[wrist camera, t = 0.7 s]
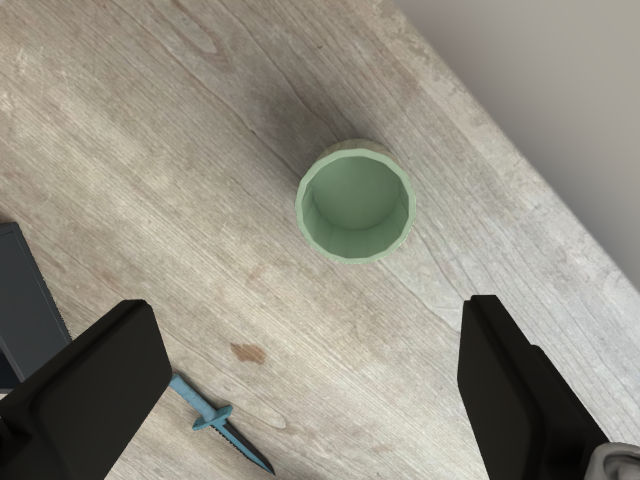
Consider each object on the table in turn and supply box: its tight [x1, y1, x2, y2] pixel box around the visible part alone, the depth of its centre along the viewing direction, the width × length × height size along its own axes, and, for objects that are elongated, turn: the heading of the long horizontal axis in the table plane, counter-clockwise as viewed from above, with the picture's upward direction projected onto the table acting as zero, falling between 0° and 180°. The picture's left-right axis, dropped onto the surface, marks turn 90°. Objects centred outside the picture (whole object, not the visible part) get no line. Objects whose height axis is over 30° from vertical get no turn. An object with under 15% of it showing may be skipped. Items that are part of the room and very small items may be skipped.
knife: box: [168, 374, 275, 475], centre depth 35 cm, size 17×1×5 cm
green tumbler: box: [294, 139, 416, 264], centre depth 21 cm, size 7×7×6 cm
